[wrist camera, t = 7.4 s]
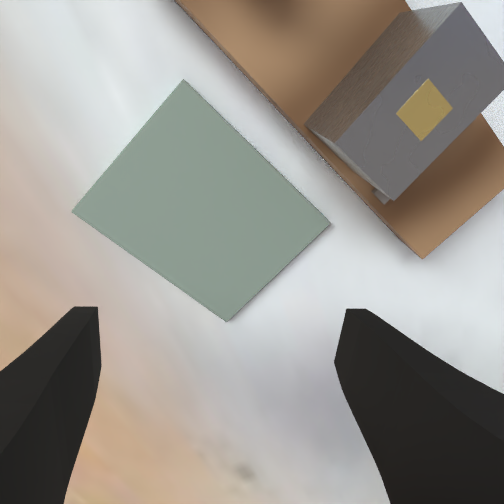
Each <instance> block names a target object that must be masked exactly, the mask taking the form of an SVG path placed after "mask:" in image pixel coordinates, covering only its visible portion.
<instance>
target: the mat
mask: <svg viewBox="0 0 504 504" xmlns="http://www.w3.org/2000/svg"><path fill="white" fill-rule="evenodd" d="M72 213H74V214H75V215H77V216H78V217H79V218H81V219H82V220H84V221H85V222H86V223H88V224H89V225H91V226H92V227H93V228H95V229H96V230H98V231H99V232H100V233H102V234H103V235H105V236H106V237H107V238H109V239H110V240H112V241H113V242H114V243H116V244H117V245H119V246H120V247H121V248H123V249H124V250H126V251H127V252H129V253H130V254H131V255H133V256H134V257H136V258H137V259H138V260H140V261H141V262H143V263H144V264H145V265H147V266H148V267H150V268H151V269H152V270H154V271H155V272H157V273H158V274H159V275H161V276H162V277H164V278H165V279H166V280H168V281H169V282H171V283H172V284H174V285H175V286H176V287H178V288H179V289H181V290H182V291H183V292H185V293H186V294H188V295H189V296H190V297H192V298H193V299H195V300H196V301H197V302H199V303H200V304H202V305H203V306H204V307H206V308H207V309H209V310H210V311H211V312H213V313H214V314H216V315H217V316H219V317H220V318H221V319H223V320H224V321H226V322H227V321H228V320H230V319H231V318H232V317H233V316H234V315H235V314H236V313H237V312H238V311H239V310H240V309H241V308H242V307H243V306H244V305H245V304H246V303H247V302H248V301H249V300H251V299H252V298H253V297H254V296H255V295H256V294H257V293H258V292H259V291H260V290H261V289H262V288H263V287H264V286H265V285H266V284H267V283H268V282H269V281H270V280H272V279H273V278H274V277H275V276H276V275H277V274H278V273H279V272H280V271H281V270H282V269H283V268H284V267H285V266H286V265H287V264H288V263H289V262H290V261H291V260H293V259H294V258H295V257H296V256H297V255H298V254H299V253H300V252H301V251H302V250H303V249H304V248H305V247H306V246H307V245H308V244H309V243H310V242H311V241H313V240H314V239H315V238H316V237H317V236H318V235H319V234H320V233H321V232H322V231H323V230H324V229H325V228H326V227H327V226H328V225H329V224H330V222H329V221H328V220H327V219H326V218H325V217H324V216H323V215H322V214H321V213H320V212H319V211H318V210H317V209H316V208H315V207H314V206H313V205H312V204H311V203H310V202H309V201H308V200H307V199H306V198H305V197H304V196H303V195H302V194H301V193H300V192H299V191H298V190H297V189H296V188H295V187H294V186H293V185H292V184H290V183H289V182H288V181H287V180H286V179H285V178H284V177H283V176H282V175H281V174H280V173H279V172H278V171H277V170H276V169H275V168H274V167H273V166H272V165H271V164H270V163H269V162H268V161H267V160H266V159H265V158H264V157H263V156H262V155H261V154H260V153H259V152H258V151H257V150H256V149H255V148H254V147H253V146H252V145H251V144H249V143H248V142H247V141H246V140H245V139H244V138H243V137H242V136H241V135H240V134H239V133H238V132H237V131H236V130H235V129H234V128H233V127H232V126H231V125H230V124H229V123H228V122H227V121H226V120H225V119H224V118H223V117H222V116H221V115H220V114H219V113H218V112H217V111H216V110H215V109H214V108H213V107H212V106H211V105H209V104H208V103H207V102H206V101H205V100H204V99H203V98H202V97H201V96H200V95H199V94H198V93H197V92H196V91H195V90H194V89H193V88H192V87H191V86H190V85H189V84H188V83H187V82H186V81H185V80H184V79H183V80H182V81H181V83H180V84H179V85H178V86H177V87H176V88H175V90H174V91H173V92H172V93H171V94H170V96H169V97H168V98H167V99H166V100H165V101H164V103H163V104H162V105H161V106H160V107H159V109H158V110H157V111H156V112H155V113H154V114H153V116H152V117H151V118H150V119H149V120H148V122H147V123H146V124H145V125H144V126H143V127H142V129H141V130H140V131H139V132H138V133H137V134H136V136H135V137H134V138H133V139H132V140H131V142H130V143H129V144H128V145H127V146H126V147H125V149H124V150H123V151H122V152H121V153H120V155H119V156H118V157H117V158H116V159H115V160H114V162H113V163H112V164H111V165H110V166H109V168H108V169H107V170H106V171H105V172H104V173H103V175H102V176H101V177H100V178H99V179H98V181H97V182H96V183H95V184H94V185H93V186H92V188H91V189H90V190H89V191H88V192H87V193H86V195H85V196H84V197H83V198H82V199H81V201H80V202H79V203H78V204H77V205H76V206H75V208H74V209H73V210H72Z"/></svg>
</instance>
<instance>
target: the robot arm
mask: <svg viewBox="0 0 504 504" xmlns="http://www.w3.org/2000/svg"><path fill="white" fill-rule="evenodd" d="M334 364H335V367H336V371H337V374H338V378H339V381H340V384H341V387H342V390H343V393H344V395H345V398H346V400H347V402H348V404H349V406H350V409H351V411H352V413H353V415H354V417H355V419H356V422H357V424H358V426H359V428H360V430H361V432H362V434H363V437H364V439H365V441H366V443H367V445H368V447H369V449H370V451H371V454H372V456H373V458H374V460H375V463H376V465H377V467H378V470H379V472H380V475H381V477H382V480H383V483H384V486H385V489H386V492H387V494H388V497H389V500H390V503H391V504H504V394H502V393H500V392H498V391H496V390H494V389H492V388H490V387H488V386H487V385H485V384H483V383H481V382H479V381H477V380H475V379H474V378H472V377H470V376H468V375H466V374H464V373H463V372H461V371H459V370H457V369H456V368H454V367H453V366H451V365H449V364H448V363H446V362H444V361H443V360H441V359H440V358H438V357H436V356H435V355H433V354H432V353H430V352H429V351H427V350H426V349H424V348H423V347H421V346H420V345H418V344H417V343H415V342H414V341H413V340H411V339H410V338H408V337H407V336H405V335H404V334H402V333H401V332H400V331H398V330H397V329H395V328H394V327H393V326H391V325H390V324H388V323H387V322H385V321H384V320H382V319H381V318H380V317H378V316H377V315H375V314H373V313H372V312H370V311H368V310H367V309H346V313H345V318H344V322H343V326H342V330H341V335H340V339H339V343H338V347H337V352H336V356H335V360H334ZM100 371H101V351H100V335H99V319H98V307H73V308H72V309H71V310H70V311H69V312H67V313H66V314H65V315H64V316H63V317H62V318H61V319H60V320H59V321H58V322H57V323H56V324H55V325H54V326H53V327H51V328H50V329H49V330H48V331H47V332H46V333H45V334H44V335H43V336H42V337H41V338H39V339H38V340H37V341H36V342H35V343H34V344H33V345H32V346H30V347H29V348H28V349H27V350H26V351H25V352H24V353H22V354H21V355H20V356H19V357H18V358H16V359H15V360H14V361H13V362H11V363H10V364H9V365H8V366H6V367H5V368H4V369H3V370H1V371H0V504H64V499H65V495H66V491H67V487H68V484H69V480H70V477H71V473H72V470H73V467H74V464H75V461H76V458H77V455H78V452H79V449H80V446H81V442H82V439H83V436H84V433H85V430H86V427H87V424H88V421H89V418H90V414H91V411H92V408H93V405H94V402H95V398H96V393H97V388H98V382H99V377H100Z"/></svg>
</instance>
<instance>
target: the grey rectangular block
mask: <svg viewBox="0 0 504 504" xmlns="http://www.w3.org/2000/svg"><path fill="white" fill-rule="evenodd" d="M503 90H504V62H503V60H502V59H501V57H500V56H499V55H498V53H497V52H496V50H495V49H494V47H493V46H492V45H491V43H490V42H489V40H488V39H487V38H486V36H485V35H484V33H483V32H482V31H481V29H480V28H479V26H478V25H477V23H476V22H475V21H474V19H473V18H472V16H471V15H470V14H469V12H468V11H467V9H466V8H465V6H464V5H463V4H462V2H459V3H453V4H448V5H442V6H436V7H430V8H424V9H418V10H412V11H407V12H401V13H399V14H398V15H397V16H396V18H395V19H394V20H393V21H392V22H391V23H390V25H389V26H388V27H387V28H386V29H385V30H384V31H383V33H382V34H381V35H380V36H379V37H378V38H377V40H376V41H375V42H374V43H373V44H372V45H371V47H370V48H369V49H368V50H367V51H366V52H365V54H364V55H363V56H362V57H361V58H360V59H359V60H358V62H357V63H356V64H355V65H354V66H353V67H352V69H351V70H350V71H349V72H348V73H347V74H346V76H345V77H344V78H343V79H342V80H341V81H340V83H339V84H338V85H337V86H336V87H335V88H334V89H333V91H332V92H331V93H330V94H329V95H328V96H327V98H326V99H325V100H324V101H323V102H322V103H321V105H320V106H319V107H318V108H317V109H316V110H315V112H314V113H313V114H312V115H311V116H310V117H309V118H308V120H307V121H306V122H305V123H304V125H305V126H306V127H307V128H308V129H309V130H310V131H311V132H312V133H313V134H314V135H315V136H316V137H318V138H319V139H320V140H321V141H322V142H323V143H324V144H325V145H326V146H327V147H328V148H329V149H330V150H331V151H332V152H333V153H334V154H335V155H336V156H337V157H338V158H340V159H341V160H342V161H343V162H344V163H345V164H346V165H347V166H348V167H349V168H350V169H351V170H352V171H353V172H354V173H356V174H357V175H359V176H360V177H361V178H363V179H364V180H365V181H367V182H368V183H370V184H371V185H372V186H374V187H375V188H376V189H378V190H379V191H381V192H382V193H383V194H385V195H386V196H388V197H389V198H390V199H392V200H393V201H395V200H396V199H397V198H398V197H399V196H400V194H401V193H402V192H403V191H404V190H405V189H406V188H407V187H408V186H409V185H410V184H411V183H412V182H413V181H414V180H415V179H416V178H417V177H418V176H419V175H420V174H421V173H422V172H423V171H424V170H425V169H426V168H427V167H428V166H429V165H430V164H431V163H432V162H433V161H434V160H435V159H436V158H437V157H438V156H439V155H440V154H441V153H442V152H443V151H444V150H445V149H446V148H447V147H448V146H449V145H450V144H451V143H452V142H453V141H454V140H455V139H456V138H457V137H458V136H459V135H460V134H461V132H462V131H463V130H464V129H465V128H466V127H467V126H468V125H469V124H470V123H471V122H472V121H473V120H474V119H475V118H476V117H477V116H478V115H479V114H480V113H481V112H482V111H483V110H484V109H485V108H486V107H487V106H488V105H489V104H490V103H491V102H492V101H493V100H494V99H495V98H496V97H497V96H498V95H499V94H500V93H501V92H502V91H503Z"/></svg>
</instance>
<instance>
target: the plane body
mask: <svg viewBox="0 0 504 504" xmlns="http://www.w3.org/2000/svg"><path fill="white" fill-rule="evenodd" d="M175 1H176V2H177V3H178V5H179V6H180V7H181V8H182V9H183V10H184V11H185V12H186V13H187V14H188V15H189V16H190V17H191V18H192V19H193V20H194V22H195V23H196V24H197V25H198V26H199V27H200V28H201V29H202V30H203V31H204V32H205V33H206V34H207V35H208V36H209V37H210V39H211V40H212V41H213V42H214V43H215V44H216V45H217V46H218V47H219V48H220V49H221V50H222V51H223V52H224V53H225V54H226V55H227V57H228V58H229V59H230V60H231V61H232V62H233V63H234V64H235V65H236V66H237V67H238V68H239V69H240V70H241V71H242V72H243V74H244V75H245V76H246V77H247V78H248V79H249V80H250V81H251V82H252V83H253V84H254V85H255V86H256V87H257V88H258V89H259V91H260V92H261V93H262V94H263V95H264V96H265V97H266V98H267V99H268V100H269V101H270V102H271V103H272V104H273V105H274V106H275V107H276V109H277V110H278V111H279V112H280V113H281V114H282V115H283V116H284V117H285V118H286V119H287V120H288V121H289V122H290V123H291V124H292V126H293V127H294V128H295V129H296V130H297V131H298V132H299V133H300V134H301V135H302V136H303V137H304V138H305V139H306V140H307V141H308V143H309V144H310V145H311V146H312V147H313V148H314V149H315V150H316V151H317V152H318V153H319V154H320V155H321V156H322V157H323V158H324V159H325V161H326V162H327V163H328V164H329V165H330V166H331V167H332V168H333V169H334V170H335V171H336V172H337V173H338V174H339V175H340V176H341V178H342V179H343V180H344V181H345V182H346V183H347V184H348V185H349V186H350V187H351V188H352V189H353V190H354V191H355V192H356V193H357V195H358V196H359V197H360V198H361V199H362V200H363V201H364V202H365V203H366V204H367V205H368V206H369V207H370V208H371V209H372V210H373V211H374V213H375V214H376V215H377V216H378V217H379V218H380V219H381V220H382V221H383V222H384V223H385V224H386V225H387V226H388V227H389V228H390V230H391V231H392V232H393V233H394V234H395V235H396V236H397V237H398V238H399V239H400V240H401V241H402V242H403V243H404V244H406V245H407V246H408V247H409V248H410V249H411V250H412V251H414V252H415V253H416V254H417V255H418V256H419V257H420V258H421V259H423V258H425V257H426V256H427V255H428V254H429V253H430V252H432V251H433V250H434V249H435V248H436V247H437V246H438V245H440V244H441V243H442V242H443V241H444V240H445V239H446V238H448V237H449V236H450V235H451V234H452V233H453V232H455V231H456V230H457V229H458V228H459V227H460V226H461V225H463V224H464V223H465V222H466V221H467V220H468V219H470V218H471V217H472V216H473V215H474V214H475V213H476V212H478V211H479V210H480V209H481V208H482V207H483V206H484V205H486V204H487V203H488V202H489V201H490V200H491V199H493V198H494V197H495V196H496V195H497V194H498V193H499V192H501V191H502V190H503V189H504V146H503V145H502V143H501V142H500V141H499V139H498V138H497V136H496V135H495V133H494V132H493V130H492V129H491V127H490V126H489V124H488V123H487V121H486V120H485V118H484V117H483V115H482V114H481V113H480V114H479V115H478V116H477V117H476V118H475V119H474V120H473V121H472V122H471V123H470V124H469V125H468V126H467V127H466V128H465V129H464V130H463V131H462V132H461V134H460V135H459V136H458V137H457V138H456V139H455V140H454V141H453V142H452V143H451V144H450V145H449V146H448V147H447V148H446V149H445V150H444V151H443V152H442V153H441V154H440V155H439V156H438V157H437V158H436V159H435V160H434V161H433V162H432V163H431V164H430V165H429V166H428V167H427V168H426V169H425V170H424V171H423V172H422V173H421V174H420V175H419V176H418V177H417V178H416V179H415V180H414V181H413V182H412V183H411V184H410V185H409V186H408V187H407V188H406V189H405V190H404V191H403V192H402V193H401V194H400V196H399V197H398V198H397V199H396V200H395V201H393V200H392V199H390V198H389V197H388V196H386V195H385V194H383V193H382V192H381V191H379V190H378V189H376V188H375V187H374V186H372V185H371V184H370V183H368V182H367V181H365V180H364V179H363V178H361V177H360V176H359V175H357V174H356V173H354V172H353V171H352V170H351V169H350V168H349V167H348V166H347V165H346V164H345V163H344V162H343V161H342V160H341V159H340V158H338V157H337V156H336V155H335V154H334V153H333V152H332V151H331V150H330V149H329V148H328V147H327V146H326V145H325V144H324V143H323V142H322V141H321V140H320V139H319V138H318V137H316V136H315V135H314V134H313V133H312V132H311V131H310V130H309V129H308V128H307V127H306V126H305V125H304V123H305V122H306V121H307V120H308V118H309V117H310V116H311V115H312V114H313V113H314V112H315V110H316V109H317V108H318V107H319V106H320V105H321V103H322V102H323V101H324V100H325V99H326V98H327V96H328V95H329V94H330V93H331V92H332V91H333V89H334V88H335V87H336V86H337V85H338V84H339V83H340V81H341V80H342V79H343V78H344V77H345V76H346V74H347V73H348V72H349V71H350V70H351V69H352V67H353V66H354V65H355V64H356V63H357V62H358V60H359V59H360V58H361V57H362V56H363V55H364V54H365V52H366V51H367V50H368V49H369V48H370V47H371V45H372V44H373V43H374V42H375V41H376V40H377V38H378V37H379V36H380V35H381V34H382V33H383V31H384V30H385V29H386V28H387V27H388V26H389V25H390V23H391V22H392V21H393V20H394V19H395V18H396V16H397V15H398V14H399V13H401V12H407V11H412V10H411V9H410V7H409V6H408V4H407V3H406V1H405V0H175Z"/></svg>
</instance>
